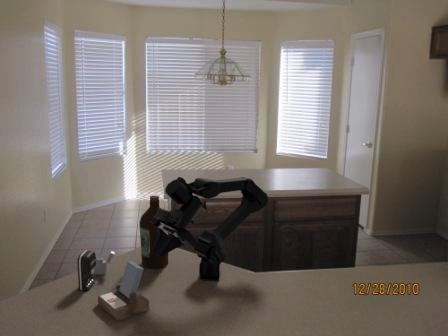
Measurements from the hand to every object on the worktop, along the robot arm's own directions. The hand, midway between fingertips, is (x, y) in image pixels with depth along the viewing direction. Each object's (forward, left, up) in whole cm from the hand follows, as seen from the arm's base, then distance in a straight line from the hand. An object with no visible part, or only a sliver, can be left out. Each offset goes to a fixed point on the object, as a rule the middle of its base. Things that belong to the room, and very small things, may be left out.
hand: (156, 254), depth 138 cm
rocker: (+8, +8, -11) cm, 15 cm away
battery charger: (+23, -3, -14) cm, 27 cm away
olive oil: (+6, -23, -14) cm, 28 cm away
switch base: (+8, +8, -14) cm, 17 cm away
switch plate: (+10, +10, -11) cm, 18 cm away
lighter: (+21, -13, -14) cm, 28 cm away
